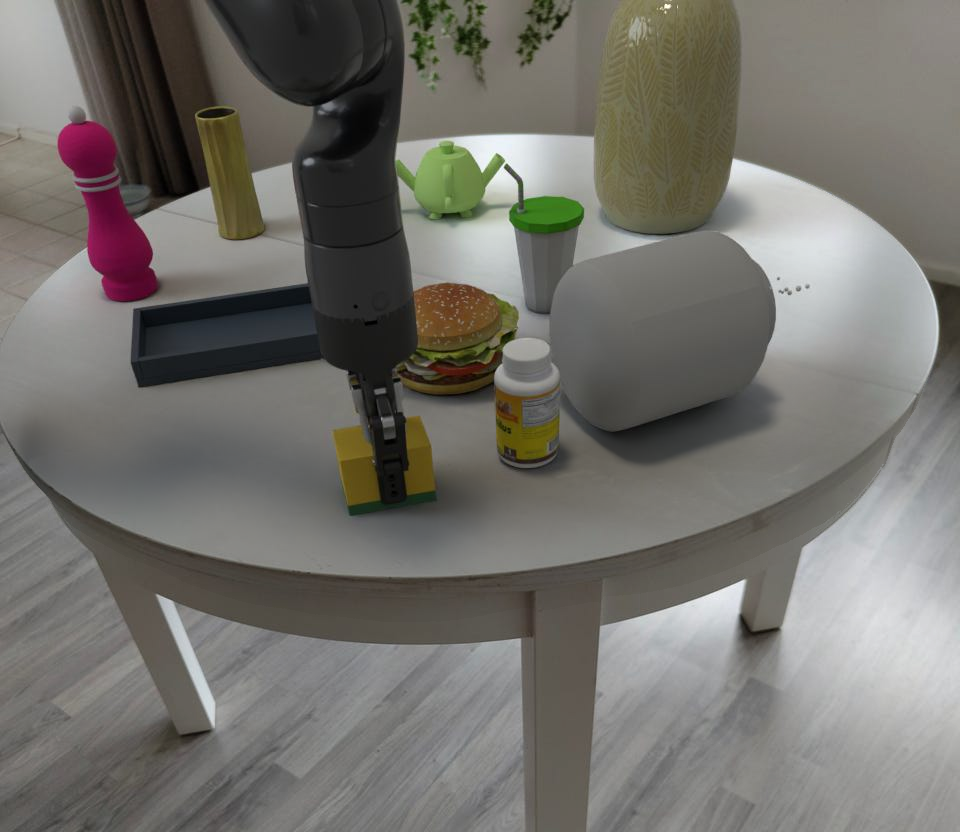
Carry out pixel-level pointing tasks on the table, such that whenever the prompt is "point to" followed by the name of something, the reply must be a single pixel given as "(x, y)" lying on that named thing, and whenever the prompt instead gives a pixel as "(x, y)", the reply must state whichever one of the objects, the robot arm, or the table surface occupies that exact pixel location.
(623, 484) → the table surface
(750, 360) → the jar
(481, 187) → the teapot
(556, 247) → the cup
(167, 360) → the tray
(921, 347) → the table surface
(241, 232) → the vase
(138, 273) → the pepper mill
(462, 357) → the food
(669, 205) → the vase
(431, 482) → the sponge
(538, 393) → the supplement bottle
